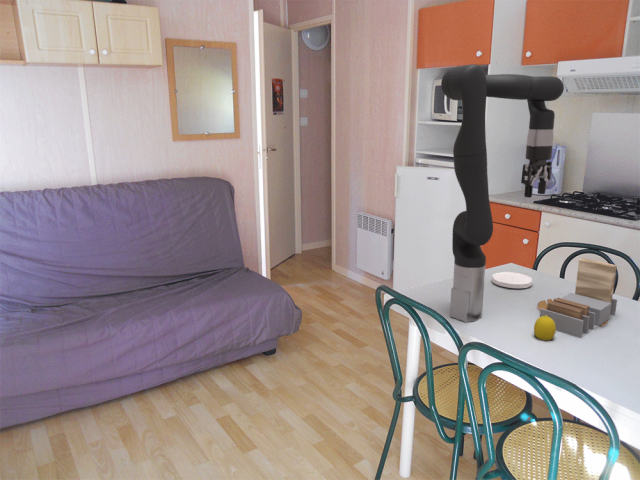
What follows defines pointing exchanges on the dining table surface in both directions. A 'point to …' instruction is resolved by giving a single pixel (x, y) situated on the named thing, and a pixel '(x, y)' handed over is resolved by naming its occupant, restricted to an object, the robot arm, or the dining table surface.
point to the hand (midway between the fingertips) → (534, 195)
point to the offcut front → (565, 310)
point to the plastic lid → (512, 280)
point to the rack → (596, 316)
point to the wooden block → (595, 280)
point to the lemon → (544, 328)
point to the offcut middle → (574, 305)
